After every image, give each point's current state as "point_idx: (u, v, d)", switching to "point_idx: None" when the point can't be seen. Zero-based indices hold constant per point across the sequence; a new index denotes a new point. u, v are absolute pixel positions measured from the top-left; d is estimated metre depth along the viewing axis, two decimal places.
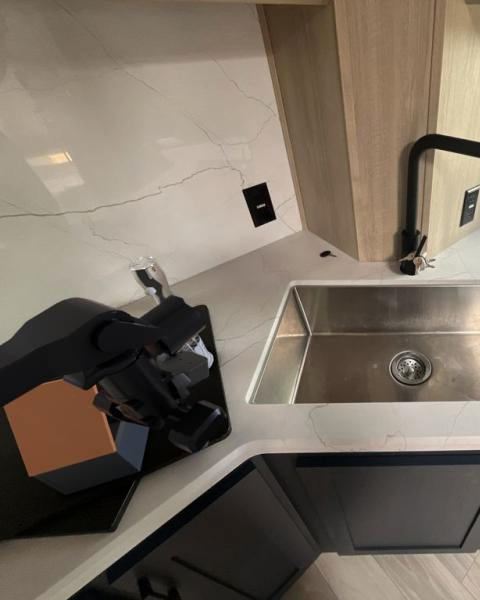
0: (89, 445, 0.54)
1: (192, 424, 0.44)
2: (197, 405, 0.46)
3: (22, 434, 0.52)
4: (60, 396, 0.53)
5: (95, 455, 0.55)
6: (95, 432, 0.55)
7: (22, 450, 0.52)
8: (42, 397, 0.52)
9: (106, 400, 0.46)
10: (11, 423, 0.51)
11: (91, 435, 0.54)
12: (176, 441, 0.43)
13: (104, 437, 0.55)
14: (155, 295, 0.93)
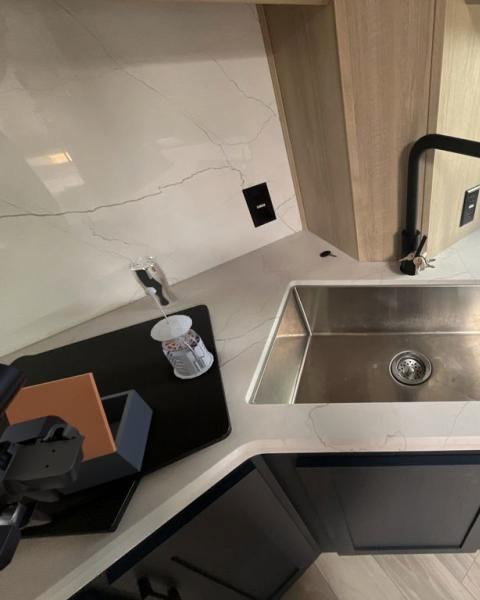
0: (89, 445, 0.54)
1: None
2: None
3: None
4: (60, 396, 0.53)
5: (95, 455, 0.55)
6: (95, 432, 0.55)
7: None
8: (42, 397, 0.52)
9: (0, 440, 0.43)
10: (11, 423, 0.51)
11: (91, 435, 0.54)
12: None
13: (104, 437, 0.55)
14: (155, 295, 0.93)
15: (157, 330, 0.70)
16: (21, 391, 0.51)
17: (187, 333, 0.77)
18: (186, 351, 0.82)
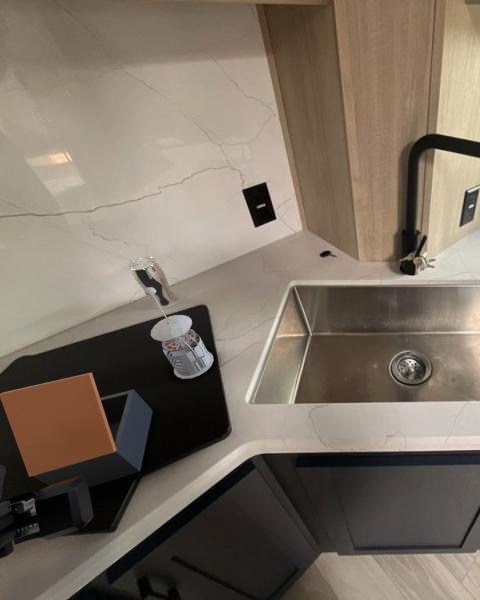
0: (89, 445, 0.54)
1: (59, 518, 0.40)
2: (39, 503, 0.40)
3: (22, 434, 0.52)
4: (60, 396, 0.53)
5: (95, 455, 0.55)
6: (95, 432, 0.55)
7: (22, 450, 0.52)
8: (42, 397, 0.52)
9: None
10: (11, 423, 0.51)
11: (91, 435, 0.54)
12: (61, 535, 0.41)
13: (104, 437, 0.55)
14: (155, 295, 0.93)
15: (157, 330, 0.70)
16: (21, 391, 0.51)
17: (187, 333, 0.77)
18: (186, 351, 0.82)
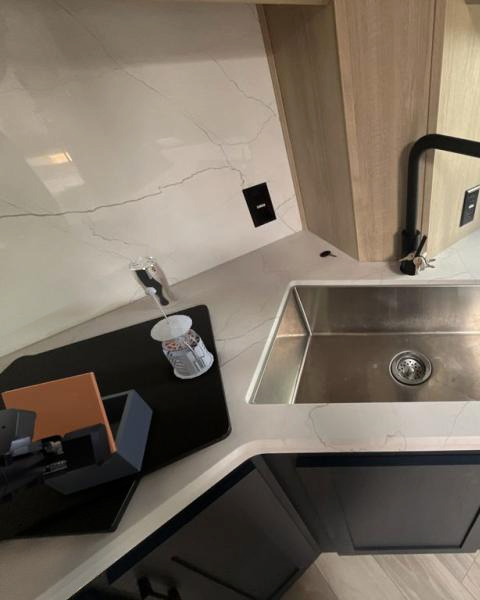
0: None
1: (83, 456, 0.46)
2: (66, 443, 0.46)
3: None
4: (61, 395, 0.53)
5: None
6: None
7: None
8: (43, 397, 0.52)
9: None
10: None
11: None
12: (84, 471, 0.47)
13: None
14: (155, 295, 0.93)
15: (157, 330, 0.70)
16: (23, 390, 0.51)
17: (187, 333, 0.77)
18: (186, 351, 0.82)
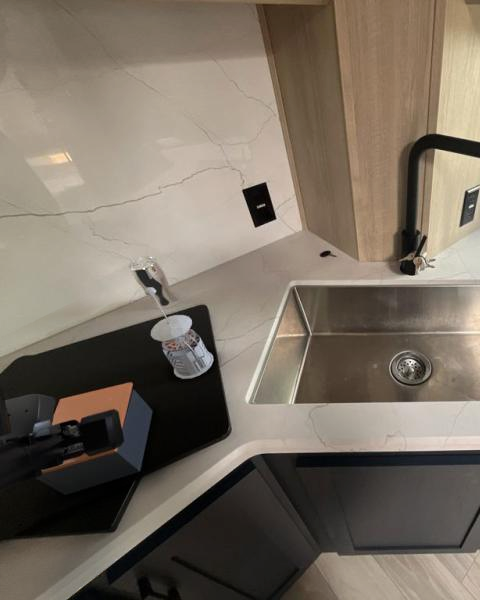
0: None
1: (99, 438, 0.50)
2: (83, 426, 0.50)
3: None
4: (100, 399, 0.62)
5: None
6: None
7: None
8: (87, 401, 0.62)
9: None
10: None
11: None
12: (99, 453, 0.51)
13: None
14: (155, 295, 0.93)
15: (157, 330, 0.70)
16: (76, 396, 0.62)
17: (187, 333, 0.77)
18: (186, 351, 0.82)
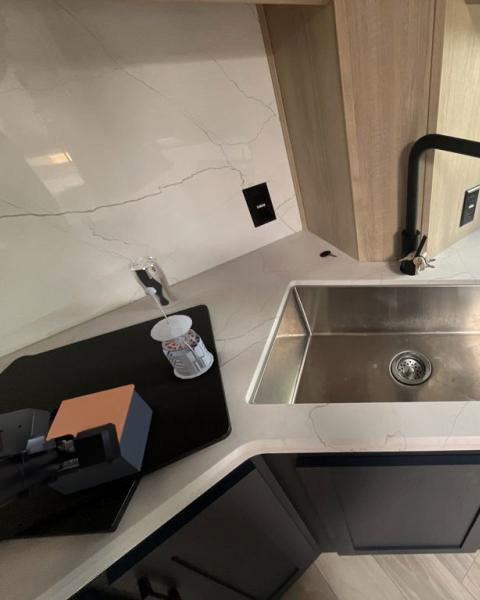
0: None
1: (95, 454, 0.48)
2: (78, 441, 0.48)
3: (54, 432, 0.58)
4: (102, 401, 0.63)
5: None
6: None
7: None
8: (89, 402, 0.62)
9: None
10: (53, 423, 0.59)
11: None
12: None
13: None
14: (155, 295, 0.93)
15: (157, 330, 0.70)
16: (78, 398, 0.63)
17: (187, 333, 0.77)
18: (186, 351, 0.82)
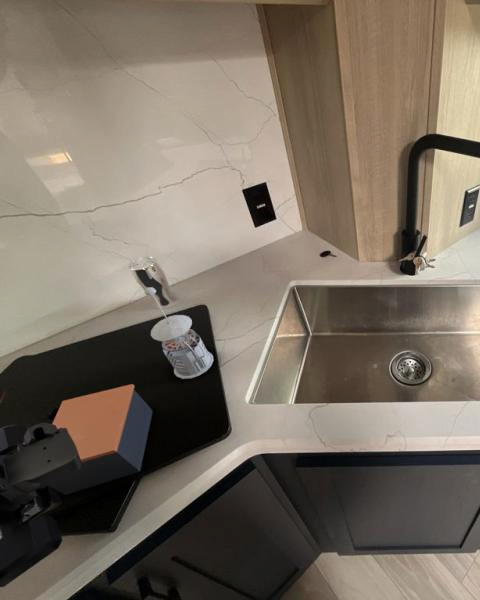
0: (97, 443, 0.56)
1: (0, 558, 0.36)
2: (25, 526, 0.37)
3: None
4: (102, 401, 0.63)
5: (96, 452, 0.55)
6: (109, 430, 0.58)
7: None
8: (89, 402, 0.62)
9: None
10: (53, 423, 0.59)
11: (105, 433, 0.58)
12: None
13: (114, 435, 0.58)
14: (155, 295, 0.93)
15: (157, 330, 0.70)
16: (78, 398, 0.63)
17: (187, 333, 0.77)
18: (186, 351, 0.82)
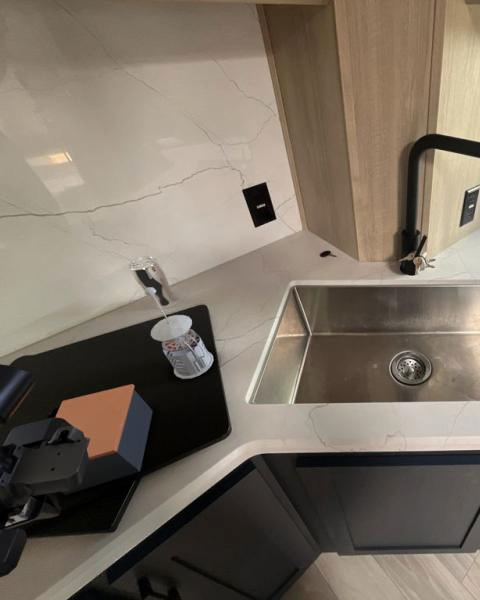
0: (97, 443, 0.56)
1: None
2: None
3: None
4: (102, 401, 0.63)
5: (96, 452, 0.55)
6: (109, 430, 0.58)
7: None
8: (89, 402, 0.62)
9: (5, 443, 0.43)
10: None
11: (105, 433, 0.58)
12: None
13: (114, 435, 0.58)
14: (155, 295, 0.93)
15: (157, 330, 0.70)
16: (78, 398, 0.63)
17: (187, 333, 0.77)
18: (186, 351, 0.82)
